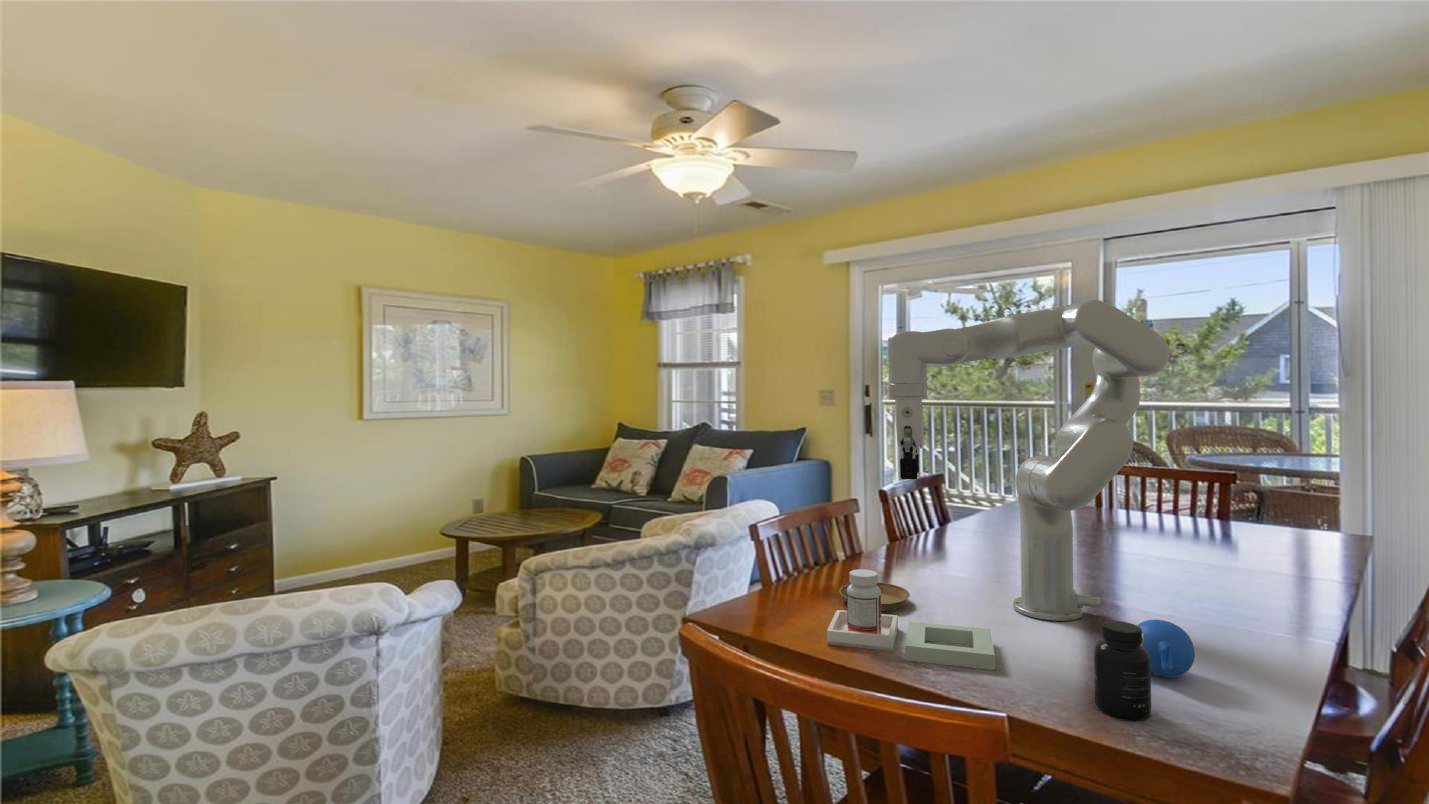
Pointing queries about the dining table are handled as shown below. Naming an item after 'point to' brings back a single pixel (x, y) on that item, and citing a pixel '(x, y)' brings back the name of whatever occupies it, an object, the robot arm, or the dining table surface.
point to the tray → (843, 637)
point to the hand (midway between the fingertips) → (910, 475)
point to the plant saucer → (886, 595)
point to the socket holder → (950, 655)
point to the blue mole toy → (1167, 648)
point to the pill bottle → (864, 602)
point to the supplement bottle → (1122, 672)
